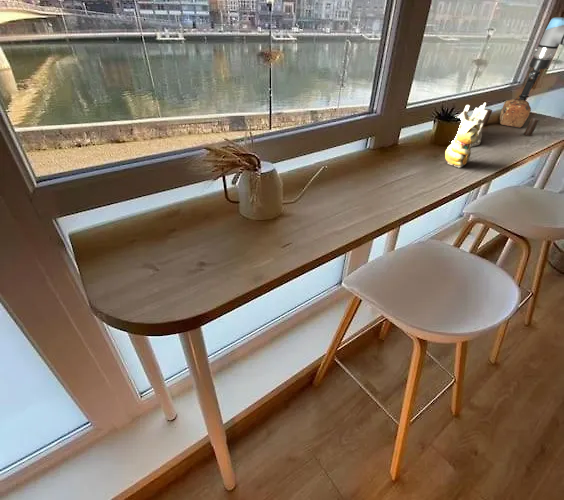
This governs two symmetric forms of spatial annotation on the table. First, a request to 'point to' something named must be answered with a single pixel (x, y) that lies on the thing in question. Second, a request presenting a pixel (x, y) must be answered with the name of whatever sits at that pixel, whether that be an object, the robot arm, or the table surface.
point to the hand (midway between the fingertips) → (516, 110)
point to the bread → (515, 113)
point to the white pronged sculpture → (476, 116)
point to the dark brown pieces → (528, 131)
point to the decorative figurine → (462, 145)
